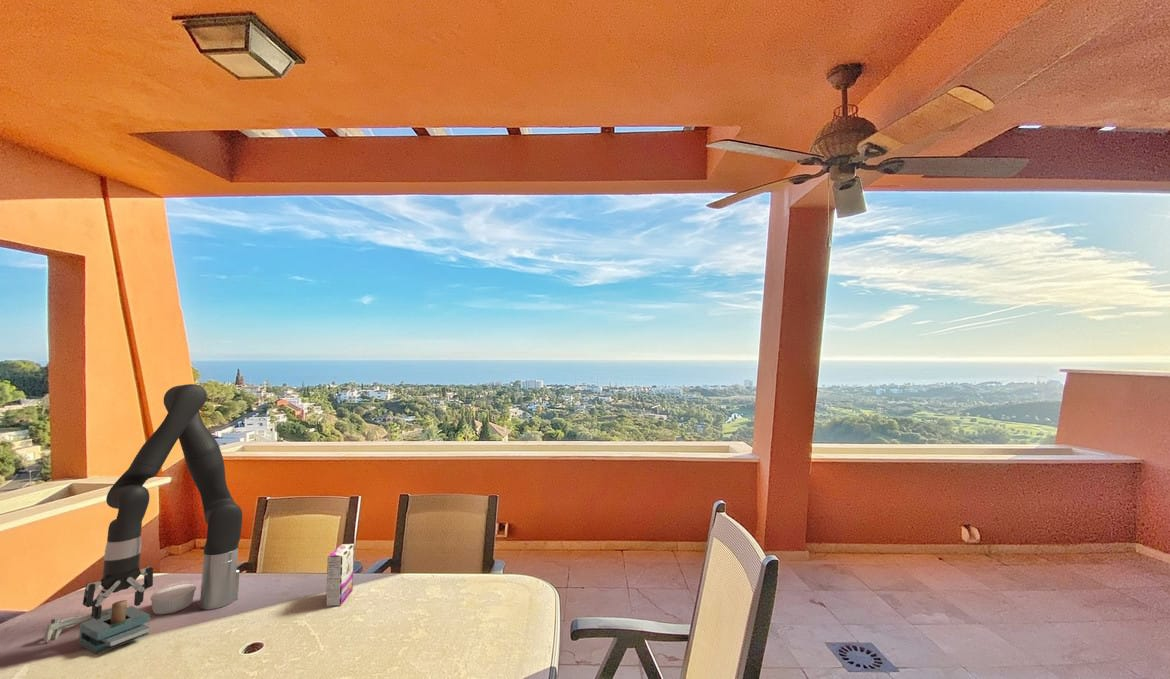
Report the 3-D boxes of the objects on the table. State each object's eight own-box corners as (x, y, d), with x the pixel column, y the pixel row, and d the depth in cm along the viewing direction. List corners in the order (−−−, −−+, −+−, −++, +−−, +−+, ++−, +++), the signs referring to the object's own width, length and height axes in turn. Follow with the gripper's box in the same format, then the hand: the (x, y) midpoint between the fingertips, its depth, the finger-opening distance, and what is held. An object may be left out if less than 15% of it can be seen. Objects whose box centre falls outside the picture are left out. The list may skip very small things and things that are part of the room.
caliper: (47, 644, 128) (49, 621, 129) (43, 644, 128) (45, 621, 129) (122, 608, 148) (124, 588, 149) (119, 608, 148) (120, 588, 149)
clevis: (130, 624, 138) (131, 606, 138) (154, 637, 131) (156, 617, 132) (78, 643, 128) (80, 623, 129) (102, 658, 121) (104, 636, 122)
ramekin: (172, 599, 154) (173, 583, 155) (204, 599, 154) (205, 583, 154) (139, 616, 143) (140, 599, 143) (173, 617, 143) (174, 599, 143)
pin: (120, 635, 132) (124, 599, 133) (125, 637, 131) (129, 601, 132) (106, 640, 130) (110, 604, 131) (111, 642, 129) (115, 606, 129)
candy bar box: (337, 591, 160) (340, 543, 161) (352, 590, 160) (355, 543, 162) (324, 607, 149) (327, 556, 150) (340, 606, 149) (343, 555, 151)
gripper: (148, 544, 140) (143, 598, 139) (82, 560, 128) (77, 620, 126) (160, 548, 137) (155, 603, 136) (94, 565, 124) (88, 627, 123)
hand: (117, 611), depth 131 cm, fingers open, 8 cm apart
